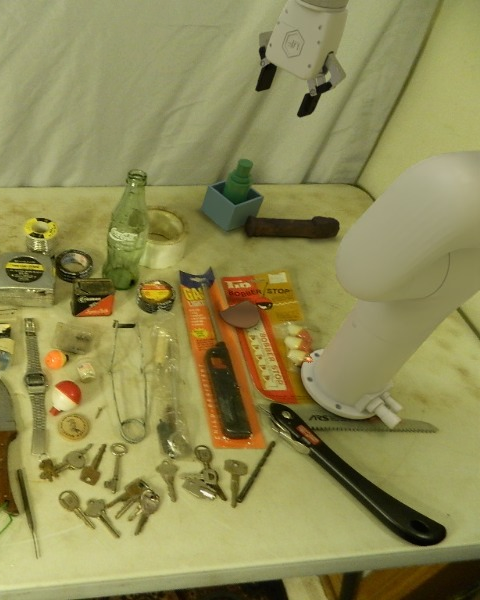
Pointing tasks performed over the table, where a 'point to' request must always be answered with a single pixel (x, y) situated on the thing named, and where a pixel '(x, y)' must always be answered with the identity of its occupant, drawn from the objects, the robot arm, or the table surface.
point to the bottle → (239, 182)
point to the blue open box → (230, 207)
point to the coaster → (241, 315)
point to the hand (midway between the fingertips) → (282, 102)
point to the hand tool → (293, 227)
